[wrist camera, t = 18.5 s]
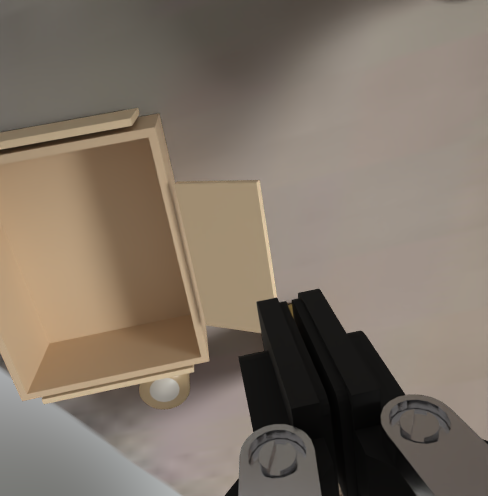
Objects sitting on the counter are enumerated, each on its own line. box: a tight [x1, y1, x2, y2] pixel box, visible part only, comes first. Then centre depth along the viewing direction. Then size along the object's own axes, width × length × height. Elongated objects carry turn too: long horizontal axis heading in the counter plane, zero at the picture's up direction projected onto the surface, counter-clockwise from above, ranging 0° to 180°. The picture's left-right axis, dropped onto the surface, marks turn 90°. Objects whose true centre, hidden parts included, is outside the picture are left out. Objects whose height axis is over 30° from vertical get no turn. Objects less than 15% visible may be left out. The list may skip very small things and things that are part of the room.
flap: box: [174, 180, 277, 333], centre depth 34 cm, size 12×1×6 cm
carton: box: [0, 108, 209, 404], centre depth 39 cm, size 22×16×8 cm
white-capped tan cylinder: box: [139, 373, 190, 409], centre depth 46 cm, size 5×5×5 cm
